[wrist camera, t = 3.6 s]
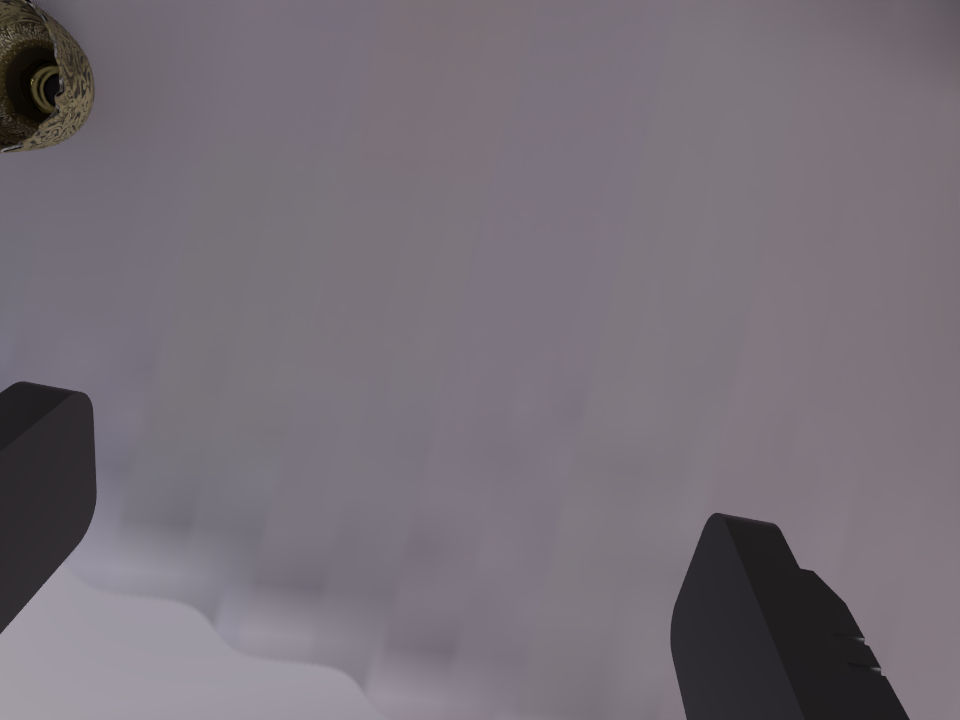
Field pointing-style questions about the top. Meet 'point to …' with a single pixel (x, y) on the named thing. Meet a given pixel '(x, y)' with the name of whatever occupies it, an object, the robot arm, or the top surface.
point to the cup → (39, 79)
